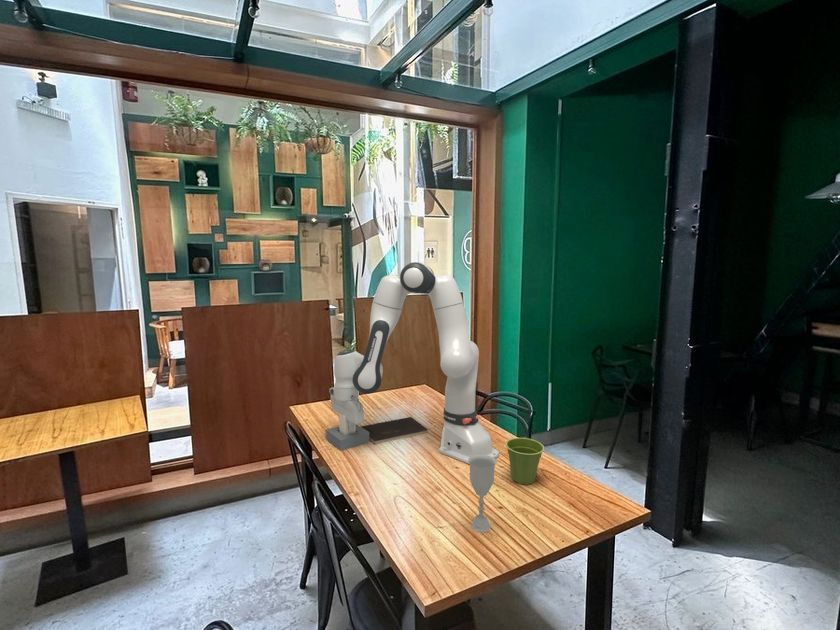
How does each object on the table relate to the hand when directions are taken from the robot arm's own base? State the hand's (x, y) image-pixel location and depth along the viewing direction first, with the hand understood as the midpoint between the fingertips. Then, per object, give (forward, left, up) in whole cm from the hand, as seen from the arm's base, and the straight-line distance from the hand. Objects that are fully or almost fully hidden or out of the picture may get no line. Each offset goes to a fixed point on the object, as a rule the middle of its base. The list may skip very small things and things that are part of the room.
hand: (347, 428), depth 163 cm
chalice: (-68, -3, -5) cm, 68 cm away
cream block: (0, 0, -5) cm, 5 cm away
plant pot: (-59, -31, -5) cm, 67 cm away
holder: (0, 0, -5) cm, 5 cm away
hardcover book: (-3, -19, -6) cm, 20 cm away
